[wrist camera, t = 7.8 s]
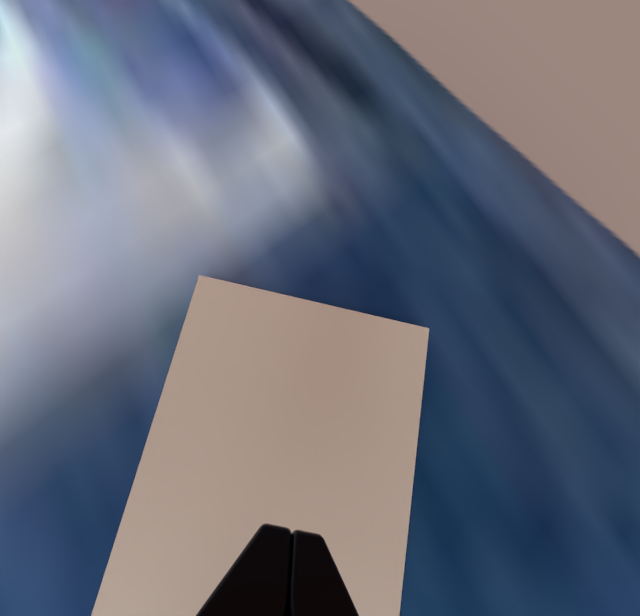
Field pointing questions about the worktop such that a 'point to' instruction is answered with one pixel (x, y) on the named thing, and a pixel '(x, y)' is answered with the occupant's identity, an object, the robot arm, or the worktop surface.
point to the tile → (273, 450)
